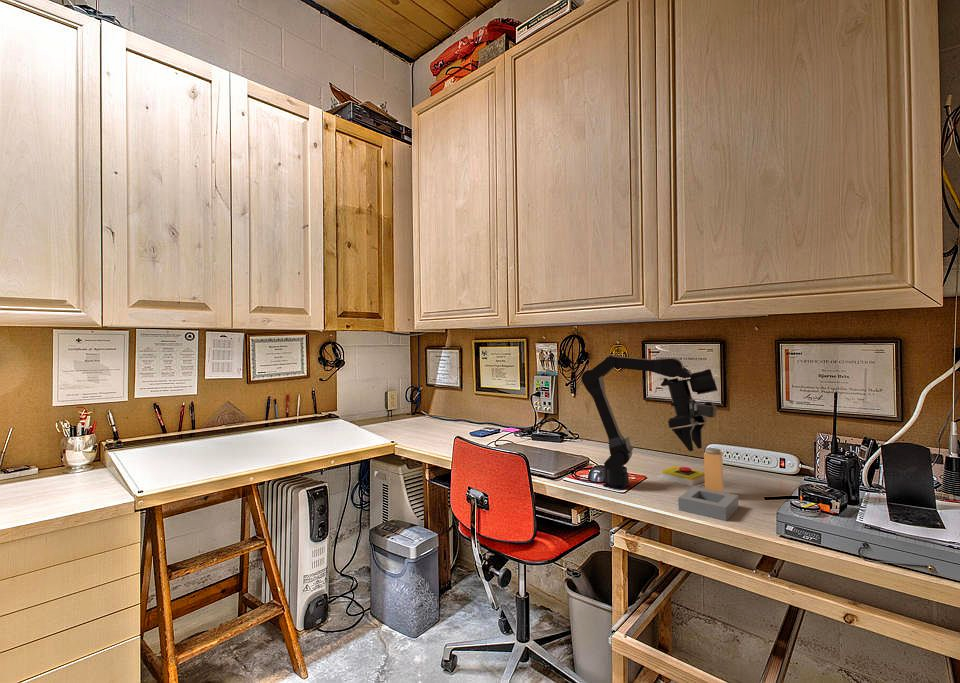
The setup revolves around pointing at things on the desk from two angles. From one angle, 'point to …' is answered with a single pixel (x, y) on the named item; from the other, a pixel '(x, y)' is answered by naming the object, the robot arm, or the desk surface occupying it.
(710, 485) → the orange bar
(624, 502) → the desk surface
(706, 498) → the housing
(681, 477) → the emergency button
